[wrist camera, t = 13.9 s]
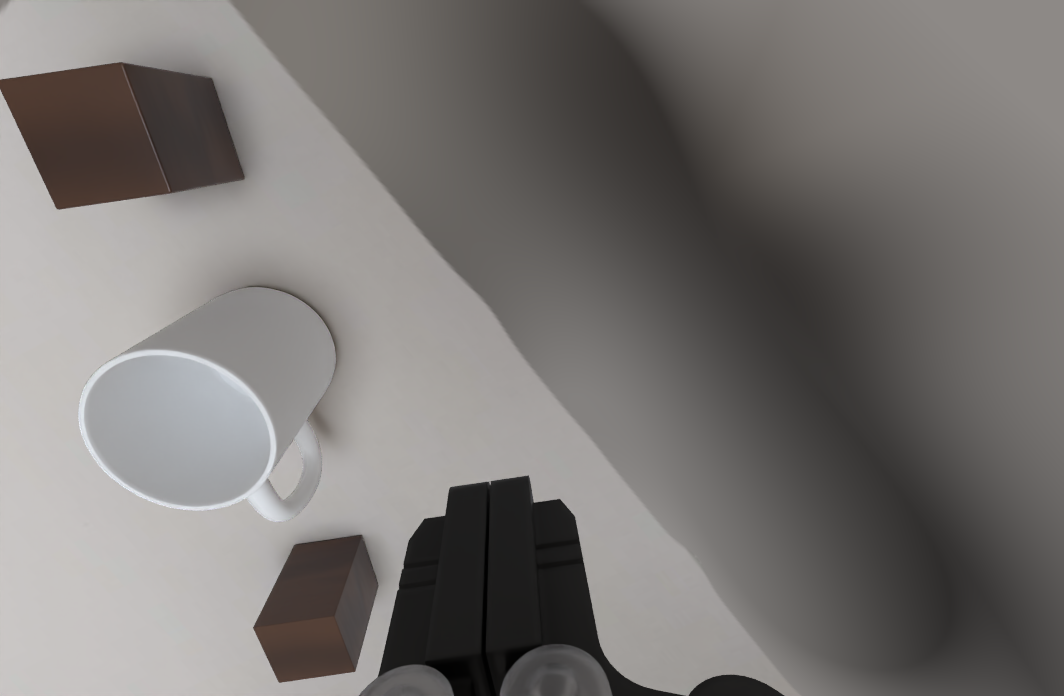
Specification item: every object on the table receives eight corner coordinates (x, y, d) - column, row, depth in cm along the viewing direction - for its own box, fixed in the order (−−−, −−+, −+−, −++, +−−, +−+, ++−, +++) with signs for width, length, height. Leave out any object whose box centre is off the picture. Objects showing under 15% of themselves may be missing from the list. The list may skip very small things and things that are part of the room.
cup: (293, 262, 31) (203, 319, 22) (391, 425, 35) (351, 532, 26) (171, 315, 32) (33, 392, 22) (281, 468, 36) (205, 587, 27)
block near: (115, 91, 27) (-6, 80, 21) (211, 77, 27) (121, 61, 21) (155, 192, 29) (55, 209, 23) (245, 179, 29) (172, 193, 23)
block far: (294, 544, 39) (252, 628, 32) (361, 534, 39) (334, 616, 32) (313, 595, 41) (278, 683, 34) (378, 585, 41) (355, 672, 34)
